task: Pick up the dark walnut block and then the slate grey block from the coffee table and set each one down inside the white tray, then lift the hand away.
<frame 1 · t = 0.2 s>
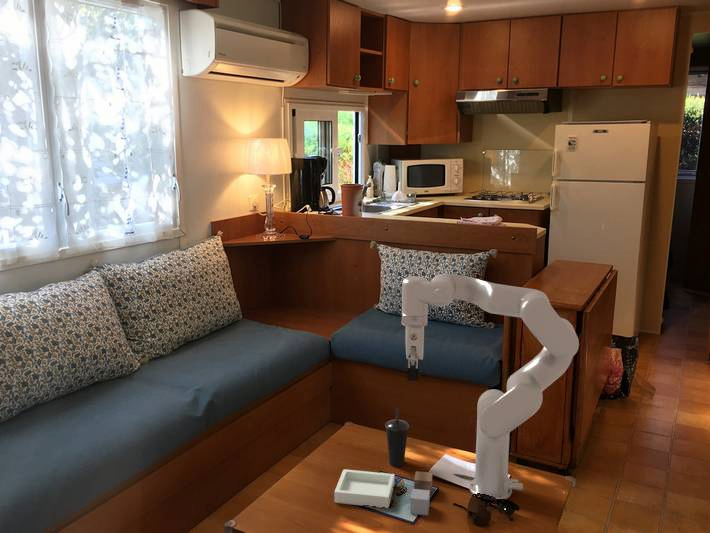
hand: (413, 374, 197), 36 cm above the table, tool pointing down, fingers open, 9 cm apart
drinking cup: (396, 463, 217), on the table
walnut block: (423, 491, 201), on the table
white tray: (365, 493, 199), on the table
grey block: (419, 509, 191), on the table
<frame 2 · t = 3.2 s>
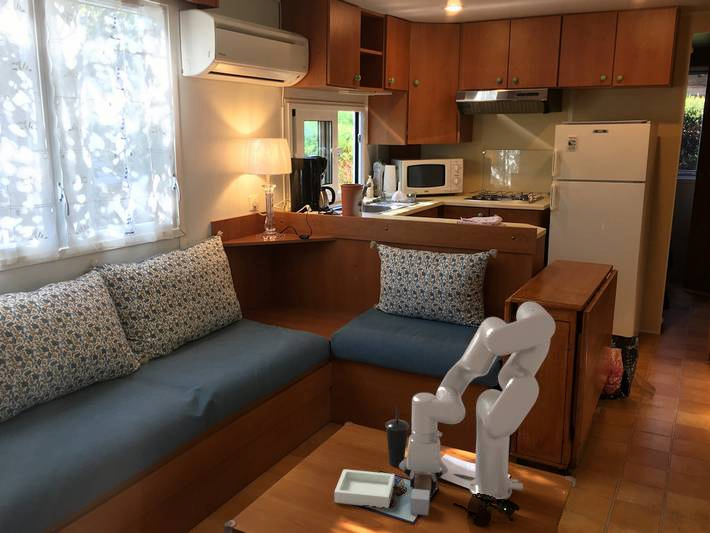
hand: (423, 489, 200), 0 cm above the table, tool pointing down, fingers closed on walnut block, 5 cm apart
walnut block: (423, 491, 201), on the table, touching gripper
everything else where it was.
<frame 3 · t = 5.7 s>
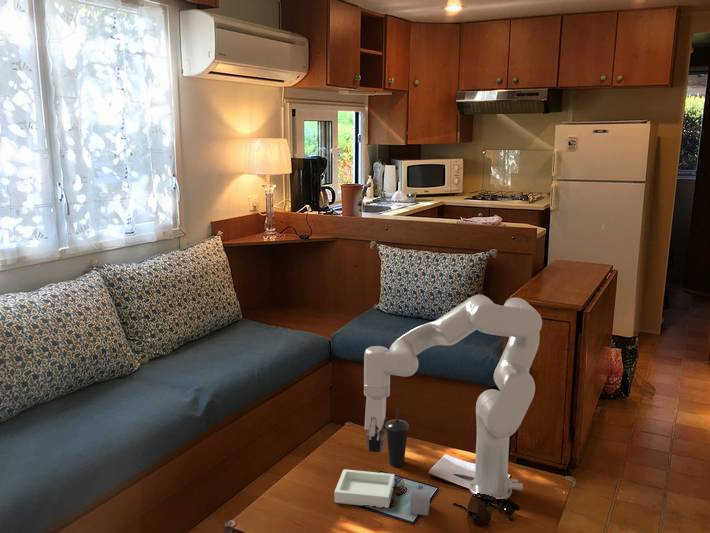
hand: (376, 446, 195), 16 cm above the table, tool pointing down, fingers closed on walnut block, 5 cm apart
walnut block: (376, 447, 196), point 15 cm above the table, touching gripper
everything else where it was.
when the fingers open (4 cm above the table, at t = 8.2 s): walnut block drops 2 cm, resting on white tray.
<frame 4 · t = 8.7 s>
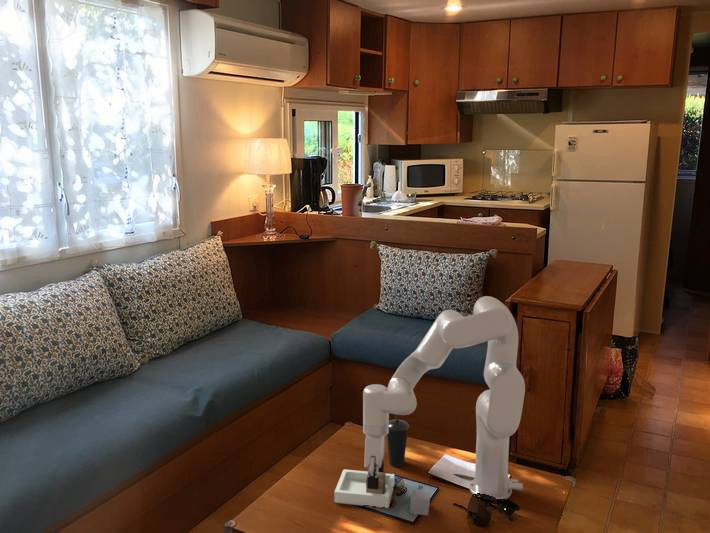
hand: (375, 479, 198), 5 cm above the table, tool pointing down, fingers open, 9 cm apart
walnut block: (375, 491, 199), point 1 cm above the table, touching white tray
everything else where it was.
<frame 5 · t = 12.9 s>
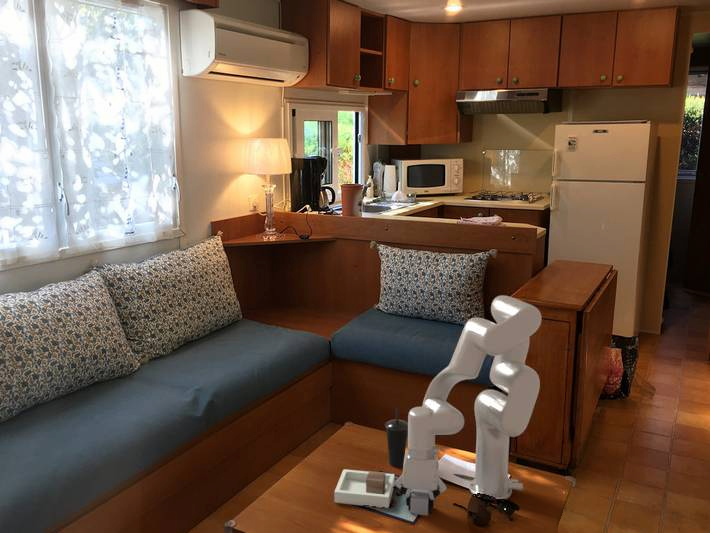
hand: (419, 508, 191), 0 cm above the table, tool pointing down, fingers closed on grey block, 5 cm apart
grey block: (419, 509, 191), on the table, touching gripper
everything else where it was.
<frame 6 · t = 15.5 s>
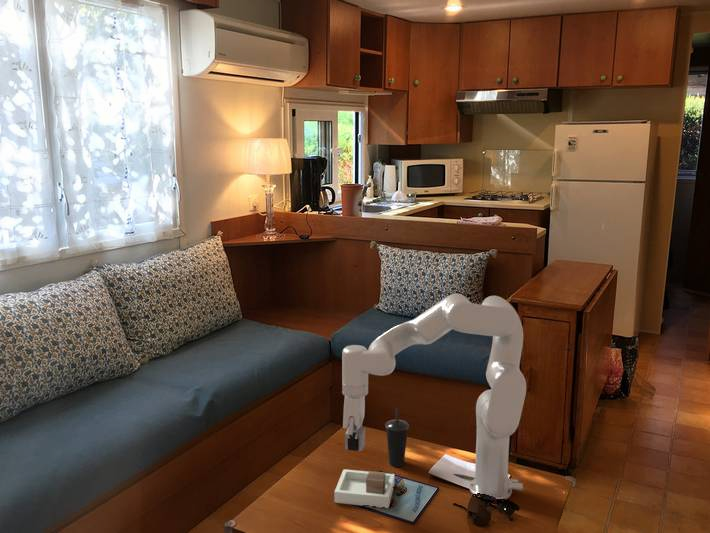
hand: (355, 444, 196), 16 cm above the table, tool pointing down, fingers closed on grey block, 5 cm apart
grey block: (355, 446, 197), point 15 cm above the table, touching gripper
everything else where it was.
when the fingers open (4 cm above the table, at t = 18.1 s): grey block drops 2 cm, resting on white tray.
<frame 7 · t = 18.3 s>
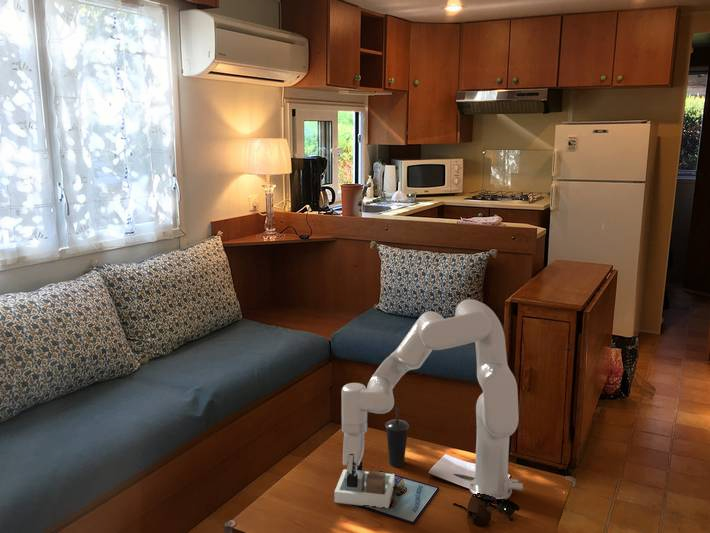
hand: (354, 479, 199), 4 cm above the table, tool pointing down, fingers open, 7 cm apart
grey block: (355, 489, 200), point 1 cm above the table, touching white tray
everything else where it was.
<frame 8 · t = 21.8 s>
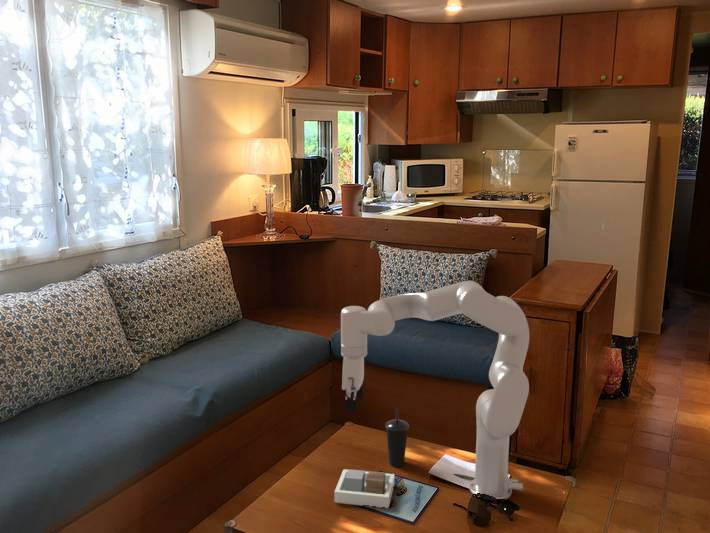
hand: (354, 404, 194), 28 cm above the table, tool pointing down, fingers open, 9 cm apart
nothing on the table moved.
at the end: walnut block inside the target area on the white tray (3.3 cm from its centre), point 1.0 cm above the white tray's base; grey block inside the target area on the white tray (3.1 cm from its centre), point 1.0 cm above the white tray's base; the gripper is holding nothing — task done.
